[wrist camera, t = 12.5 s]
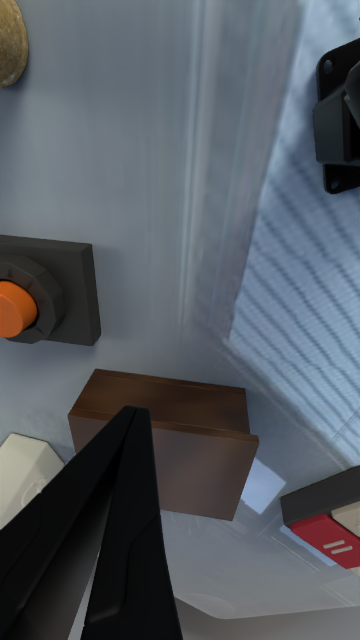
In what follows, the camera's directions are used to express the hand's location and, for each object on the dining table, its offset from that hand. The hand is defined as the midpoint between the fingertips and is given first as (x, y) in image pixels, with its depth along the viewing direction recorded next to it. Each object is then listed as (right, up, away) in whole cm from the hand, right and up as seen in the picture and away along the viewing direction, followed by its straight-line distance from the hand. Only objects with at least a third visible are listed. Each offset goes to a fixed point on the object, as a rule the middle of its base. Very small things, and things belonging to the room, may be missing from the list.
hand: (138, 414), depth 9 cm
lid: (0, -10, +15) cm, 18 cm away
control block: (-10, +6, +13) cm, 18 cm away
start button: (-11, +4, +10) cm, 15 cm away
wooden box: (0, -8, +20) cm, 21 cm away
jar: (-18, -14, +26) cm, 35 cm away
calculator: (+23, -20, +24) cm, 38 cm away
